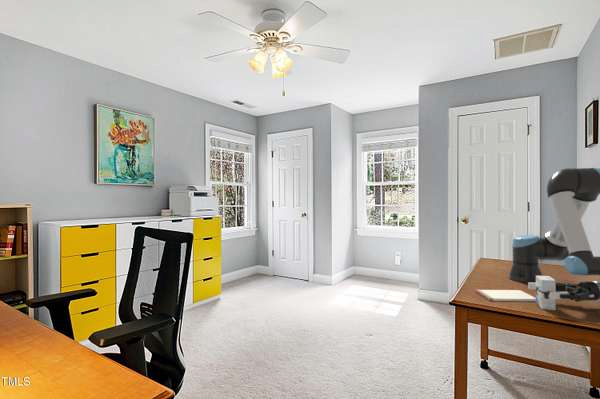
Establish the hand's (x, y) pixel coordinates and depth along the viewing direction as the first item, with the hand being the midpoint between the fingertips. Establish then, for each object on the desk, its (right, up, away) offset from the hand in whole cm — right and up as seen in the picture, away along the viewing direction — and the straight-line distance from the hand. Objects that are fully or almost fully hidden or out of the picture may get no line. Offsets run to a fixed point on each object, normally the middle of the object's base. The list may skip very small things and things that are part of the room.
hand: (538, 290), depth 138 cm
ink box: (+3, -7, 0) cm, 7 cm away
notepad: (-5, -6, +14) cm, 16 cm away
